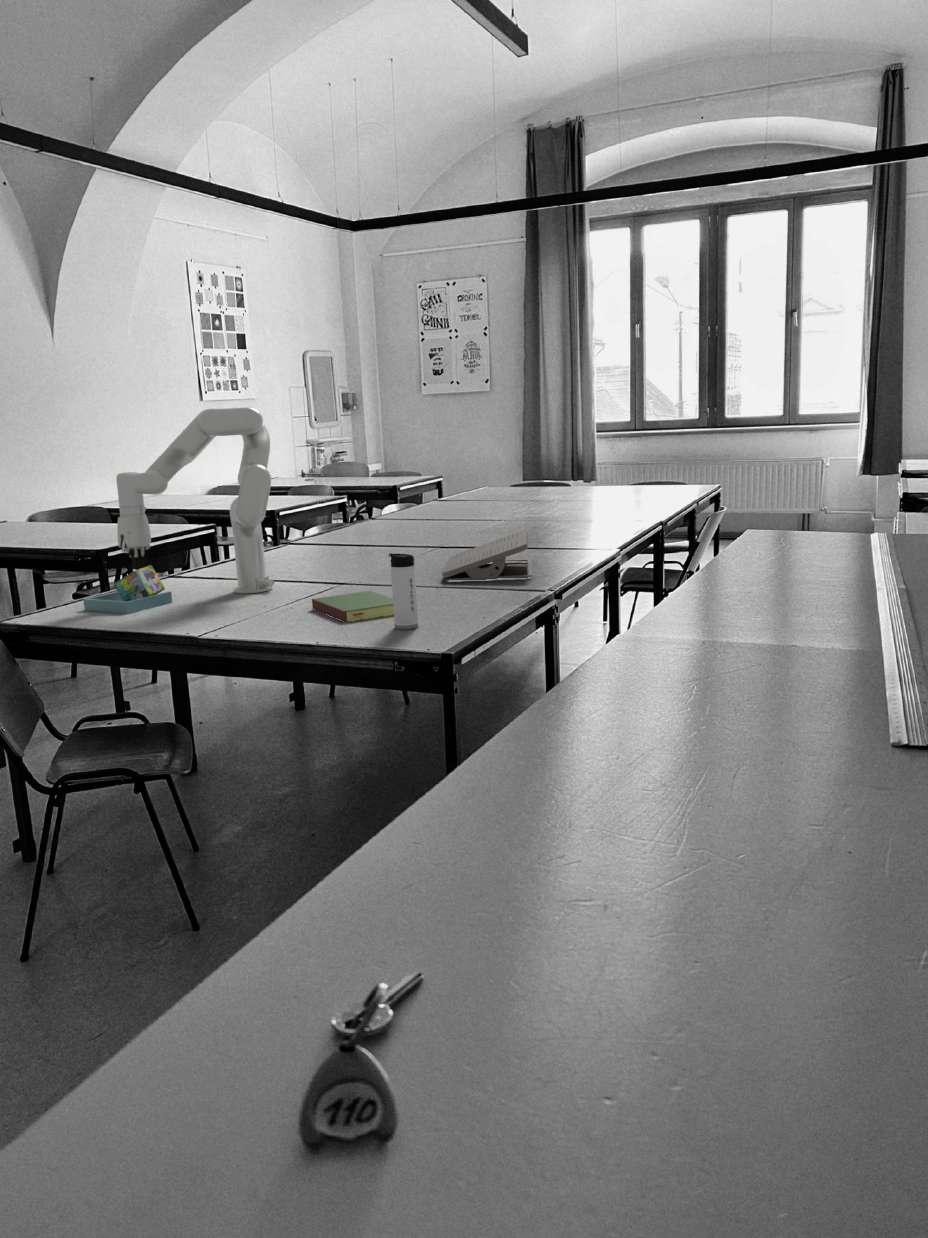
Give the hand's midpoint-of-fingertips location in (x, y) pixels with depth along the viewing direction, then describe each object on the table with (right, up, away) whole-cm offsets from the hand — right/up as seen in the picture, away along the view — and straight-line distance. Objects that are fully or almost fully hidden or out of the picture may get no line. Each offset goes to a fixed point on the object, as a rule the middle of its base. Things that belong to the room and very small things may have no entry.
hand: (138, 568), depth 316 cm
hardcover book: (+74, -15, -29) cm, 81 cm away
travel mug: (+89, -18, -53) cm, 105 cm away
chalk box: (+2, -4, +4) cm, 6 cm away
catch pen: (-2, -12, -2) cm, 12 cm away
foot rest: (+113, 0, +29) cm, 117 cm away
